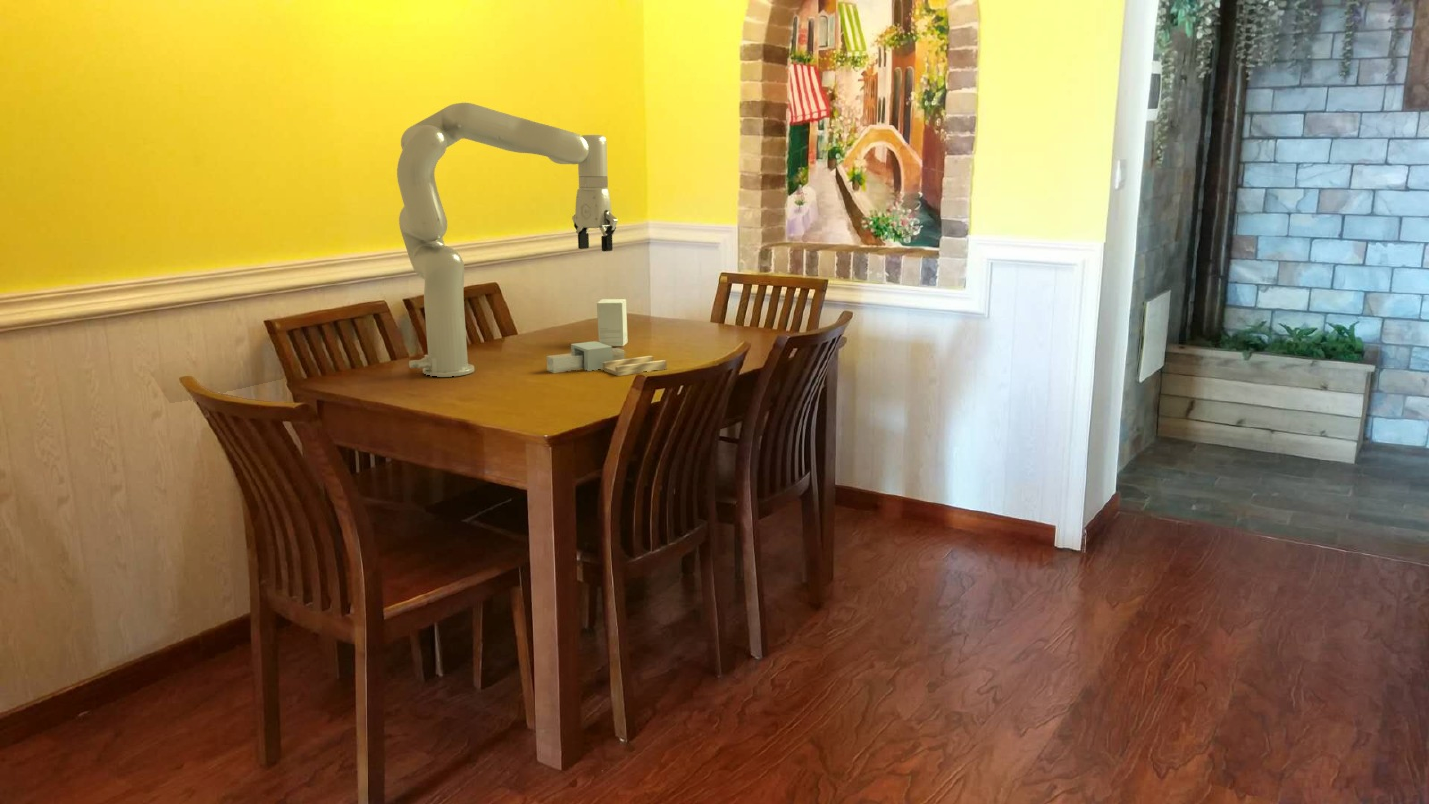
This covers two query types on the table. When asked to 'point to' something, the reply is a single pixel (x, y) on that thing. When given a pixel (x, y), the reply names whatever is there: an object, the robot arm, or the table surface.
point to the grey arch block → (593, 354)
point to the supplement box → (612, 322)
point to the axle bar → (575, 361)
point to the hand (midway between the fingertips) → (595, 249)
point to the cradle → (633, 365)
